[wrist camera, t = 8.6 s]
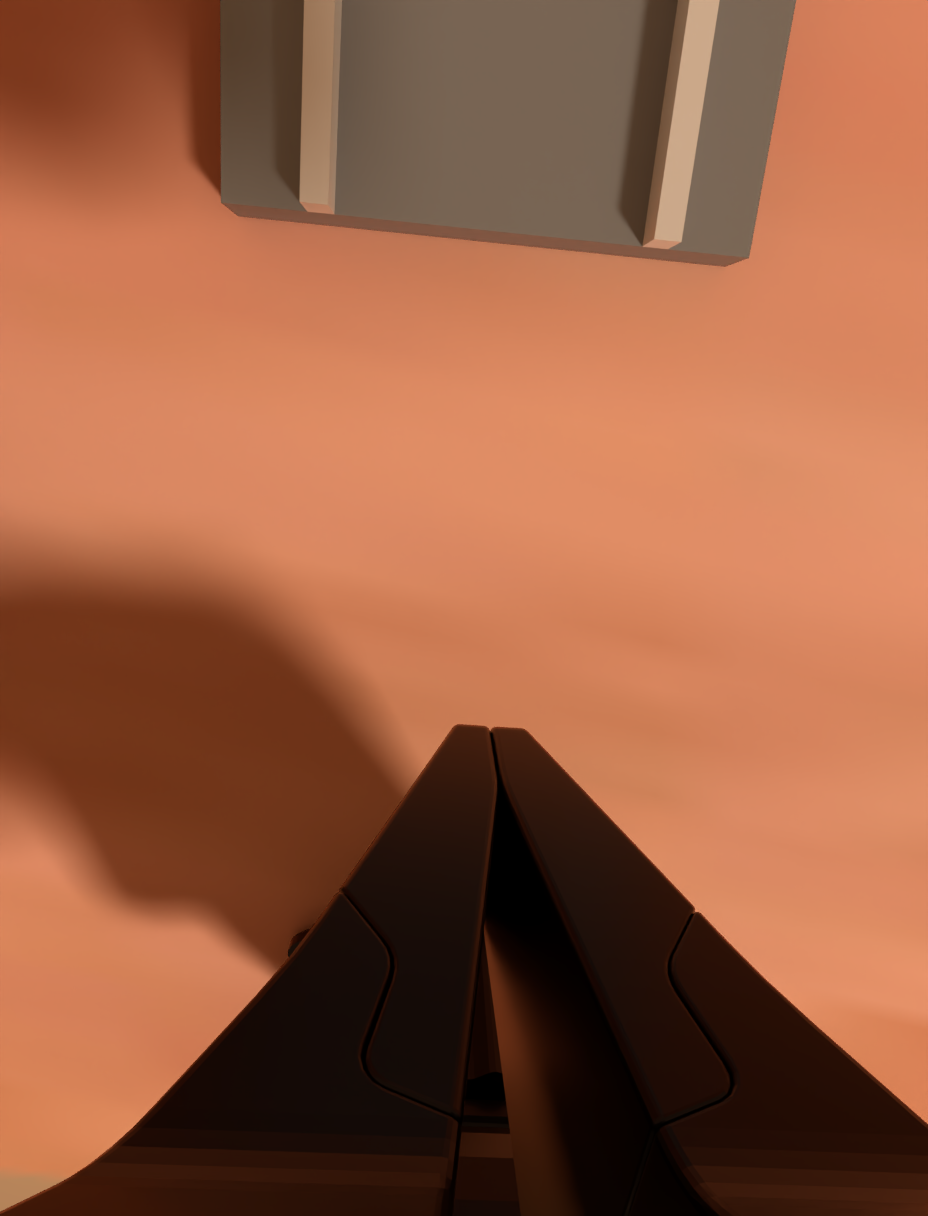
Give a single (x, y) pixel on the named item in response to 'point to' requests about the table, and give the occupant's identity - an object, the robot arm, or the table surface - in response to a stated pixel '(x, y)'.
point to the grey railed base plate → (506, 119)
